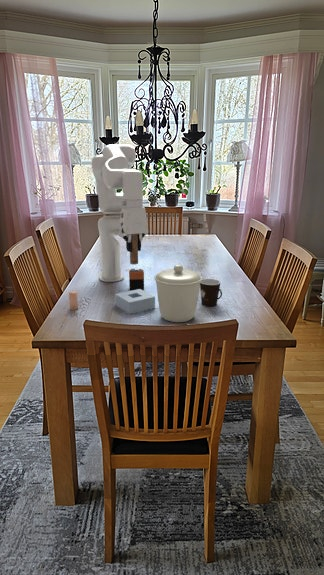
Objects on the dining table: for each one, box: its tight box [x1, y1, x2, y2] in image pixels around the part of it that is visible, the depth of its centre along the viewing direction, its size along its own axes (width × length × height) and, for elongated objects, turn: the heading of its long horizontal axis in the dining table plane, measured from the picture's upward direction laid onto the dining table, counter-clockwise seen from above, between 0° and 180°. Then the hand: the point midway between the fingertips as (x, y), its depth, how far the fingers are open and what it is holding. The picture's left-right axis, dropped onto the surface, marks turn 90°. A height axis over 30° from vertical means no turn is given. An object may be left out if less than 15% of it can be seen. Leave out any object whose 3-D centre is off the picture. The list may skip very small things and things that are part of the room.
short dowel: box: [68, 290, 79, 311], centre depth 162 cm, size 3×3×7 cm
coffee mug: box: [199, 278, 223, 308], centre depth 165 cm, size 12×9×10 cm
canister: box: [154, 264, 203, 323], centre depth 151 cm, size 18×18×21 cm
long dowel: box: [129, 234, 139, 265], centre depth 157 cm, size 3×3×13 cm
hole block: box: [114, 289, 156, 315], centre depth 164 cm, size 12×12×5 cm
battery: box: [128, 268, 145, 291], centre depth 185 cm, size 4×7×10 cm, turn 95°
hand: (133, 250), depth 158 cm, fingers closed on long dowel, 3 cm apart
